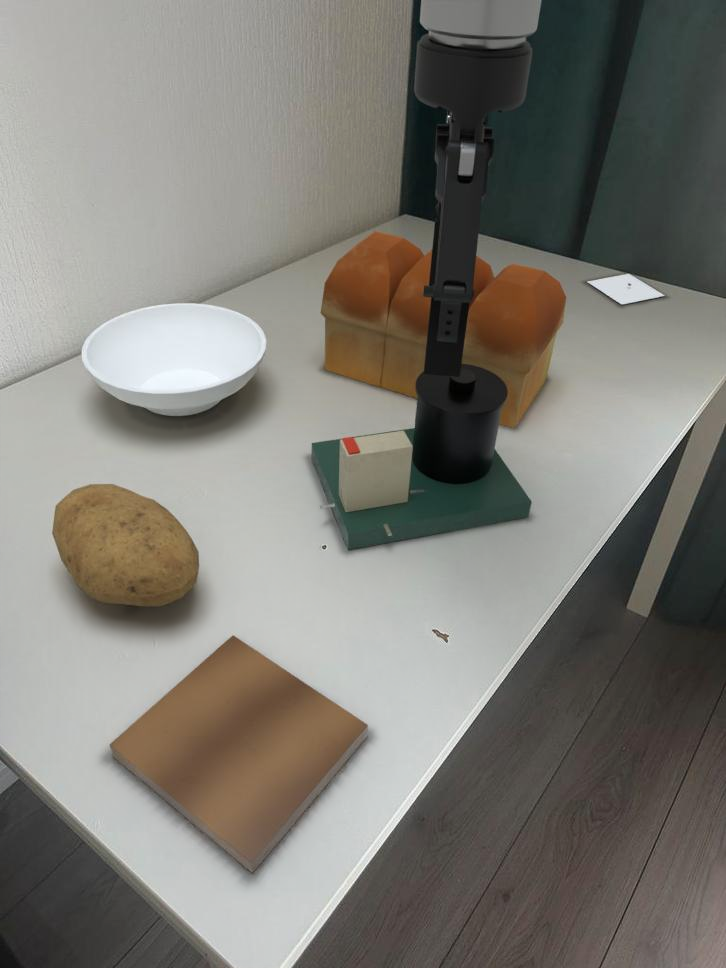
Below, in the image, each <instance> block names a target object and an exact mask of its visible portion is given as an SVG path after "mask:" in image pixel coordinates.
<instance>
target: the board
mask: <svg viewBox="0 0 726 968" xmlns="http://www.w3.org/2000/svg"><path fill="white" fill-rule="evenodd" d="M368 727H369V725H368V724H367V723H366V722H364V721H362V720H361V719H360V718H358V717H357V716H355V715H353V714H352V713H351V712H349V711H348V710H346V709H345V708H344V707H342V706H341V705H339V704H338V703H336V702H334V701H333V700H332V699H330V698H328V697H327V696H325V695H324V694H322V693H321V692H319V691H318V690H316V689H315V688H314V687H312V686H310V685H309V684H308V683H306V682H304V681H303V680H302V679H300V678H298V677H297V676H295V675H294V674H292V673H291V672H289V671H288V670H286V669H285V668H284V667H282V666H280V665H279V664H277V663H276V662H274V661H272V660H271V659H269V658H268V657H267V656H265V655H264V654H263V653H261V652H259V651H258V650H257V649H255V648H254V647H252V646H251V645H249V644H247V643H245V642H244V641H243V640H241V639H239V638H238V637H237V636H235V635H234V634H232V635H231V636H230V637H229V638H228V639H227V640H226V641H224V643H222V644H221V645H220V646H219V647H218V648H216V650H215V651H213V652H212V653H211V654H210V655H209V656H208V657H207V658H205V659H204V660H203V661H202V662H201V663H200V664H199V665H197V666H196V667H195V668H194V669H193V670H192V671H191V672H190V673H189V674H187V675H186V676H185V677H184V678H183V679H182V680H181V681H179V682H178V683H177V684H176V685H175V686H174V687H172V689H170V690H169V691H168V692H166V694H164V696H163V697H161V698H159V700H158V701H157V702H156V703H154V704H153V705H152V706H151V707H150V708H149V709H148V710H146V711H145V712H144V713H143V714H142V715H141V716H140V717H138V718H137V719H136V720H135V721H134V722H133V723H132V724H131V725H130V726H129V727H127V728H125V730H124V731H123V732H121V734H119V735H118V736H117V737H116V738H115V739H114V740H112V742H110V743H109V748H110V751H111V754H112V757H113V758H114V759H115V760H117V762H119V763H120V764H121V765H122V766H123V767H125V768H126V769H127V770H129V771H130V772H131V773H132V774H133V775H134V776H136V778H138V779H139V780H140V781H141V782H142V783H144V784H145V785H146V786H147V787H149V788H150V789H151V790H152V791H153V792H155V793H156V794H157V795H158V796H160V798H161V799H163V800H164V801H165V802H166V803H167V804H169V805H170V806H171V807H173V808H174V809H175V811H177V812H178V813H179V814H181V815H182V816H183V817H184V818H186V819H187V820H188V821H189V822H190V823H191V824H192V825H194V826H195V827H196V828H197V829H199V831H201V832H202V833H203V834H204V835H206V836H207V837H208V838H210V839H211V840H212V841H213V842H214V843H215V844H216V845H218V846H219V847H220V848H221V849H223V850H224V851H225V852H226V853H227V854H229V856H231V857H232V858H233V859H234V860H236V861H237V863H240V865H242V866H243V868H245V869H246V870H248V871H249V872H250V873H251V874H254V873H255V871H256V870H257V869H258V868H259V866H260V865H261V864H262V863H263V861H264V860H265V859H266V858H267V857H268V856H269V854H270V853H271V852H272V851H273V850H274V848H275V847H276V846H277V845H278V844H279V842H280V841H281V840H282V839H283V838H284V837H285V835H286V834H287V833H288V832H289V830H290V829H291V828H293V826H294V825H295V823H296V822H297V821H298V820H299V818H300V817H301V816H302V815H303V814H304V813H305V812H306V810H307V809H308V808H310V805H311V804H313V802H314V801H315V800H316V799H317V797H318V796H319V795H320V794H321V792H322V791H323V790H324V789H325V788H326V786H328V784H329V783H330V782H331V781H332V779H333V778H334V777H335V776H336V774H337V773H338V772H339V771H340V770H341V769H342V767H343V766H344V765H345V764H346V763H347V761H348V760H349V759H350V757H352V756H353V754H354V753H355V752H356V750H357V749H358V748H359V747H360V746H361V745H362V744H363V742H364V741H366V739H367V737H368Z"/></svg>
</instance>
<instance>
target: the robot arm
mask: <svg viewBox="0 0 726 968" xmlns="http://www.w3.org/2000/svg"><path fill="white" fill-rule="evenodd" d="M541 7H542V0H421V1H420V11H419V12H420V13H419V23H420V25H421V26H422V27H423V29H425V30H426V31H428V33H425V34H423V35H422V36H421V37H420V39H419V40H417V44H416V57H415V58H416V59H415V69H414V70H415V71H414V84H413V85H414V86H413V91H414V95H415V97H416V98H417V99H418V100H419V101H420V102H421V103H423V104H425V105H426V106H429V107H431V108H434V109H445V110H447V112H446V121H445V124H442V123H437V124H436V133H435V146H434V147H435V151H434V162H435V164H436V167H435V168H436V181H435V192H434V193H435V194H434V196H435V199H436V200H437V204H436V205H435V212H436V216H437V217H439V218H435V219H434V227H433V238H432V248H431V250H432V257H431V268H430V278H429V286H426V285H424V291H423V297H431V304H430V314H429V324H428V334H427V344H426V354H425V364H424V374H429V375H442V376H455V377H460V371H461V363H462V356H463V348H464V341H465V334H466V326H467V319H468V311H469V304H470V303H471V301H472V299H473V298H474V290H473V282H474V272H475V262H476V256H477V251H478V241H479V231H480V224H481V223H480V221H481V211H482V203H483V201H484V200H485V196H486V193H487V185H488V175H489V174H488V173H489V166H490V165H491V163H492V160H493V155H494V146H495V138H494V137H493V127H491V126H490V127H489V126H486V117H487V116H488V115H490V114H492V113H495V112H498V113H505V112H511V111H513V110H515V109H517V108H519V107H520V106H521V105H523V103H524V101H525V100H526V96H527V90H528V83H529V77H530V70H531V64H532V58H533V48H532V46H531V43H530V42H529V41H527V37H530V36H532V35H534V33H536V31H537V29H538V25H539V19H540V12H541ZM462 281H463V282H462Z"/></svg>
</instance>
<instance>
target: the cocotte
mask: <svg viewBox="0 0 726 968" xmlns="http://www.w3.org/2000/svg"><path fill="white" fill-rule="evenodd" d="M415 391H416V394H417V396H418V397H417V398H416V407H415V408H416V409H415V419H414V421H415V422H414V427H413V428H414V438H413V450H412V460H413V463H414V465H415V467H416V468H417V469H418V470H419V471H420V472H421V473H422V474H424V475H425V476H427V477H429V478H431V479H433V480H436V481H439V482H443V483H448V484H466V483H471V482H474V481H477V480H479V479H481V478H483V477H484V476H485V475H486V474H487V473H488V472H489V471H490V469H491V465H492V460H493V454H494V449H495V450H496V443H497V437H498V432H499V426H500V424H499V421H500V416H501V410H502V406H503V405H504V404H505V402H506V400H507V396H508V390H507V386H506V384H505V383H504V381H503V380H502V379H501V378H500V377H498V376H497V375H496V374H494V373H492V372H491V371H489V370H486V369H484V368H481V367H478V366H474V365H469V364H461V371H460V377H455V376H442V375H429V374H424V371H423V372H422V373H421V374H420V375H419V376H418V378H417V380H416V384H415Z"/></svg>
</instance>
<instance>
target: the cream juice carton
mask: <svg viewBox="0 0 726 968" xmlns="http://www.w3.org/2000/svg"><path fill="white" fill-rule="evenodd" d="M396 431H397V430H396ZM389 432H390V433H384V432H382V433H383V434H377V433H375V434H376V435H370V434H369V435H370V436H363V435H362V436H363V437H356V436H348V437H347V436H346V437H342V438H341V439H342V440H340V457H339V497H340V500H341V502H342V505H343V507H344V509H345V512H352V511H358V510H364V509H369V508H375V507H381V506H387V505H393V504H399V503H405V502H408V491H409V481H410V470H411V460H412V450H413V446H412V444H411V442H410V441H409V439H408V437H407V435H406V434H405V432H404V431H397V432H391V431H389ZM354 437H356V438H354Z"/></svg>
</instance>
